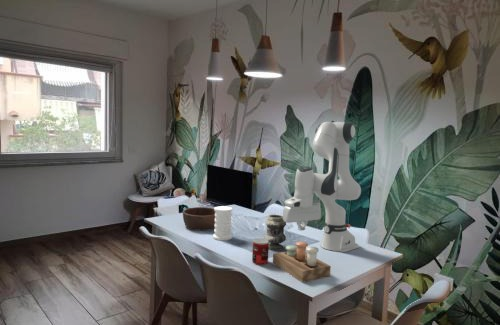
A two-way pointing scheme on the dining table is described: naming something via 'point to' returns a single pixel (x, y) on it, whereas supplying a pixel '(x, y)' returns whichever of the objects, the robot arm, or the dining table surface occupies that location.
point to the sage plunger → (291, 250)
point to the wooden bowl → (199, 218)
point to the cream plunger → (311, 255)
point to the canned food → (260, 251)
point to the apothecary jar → (275, 231)
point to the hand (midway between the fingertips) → (301, 230)
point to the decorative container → (222, 223)
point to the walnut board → (301, 267)
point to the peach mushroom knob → (301, 250)
